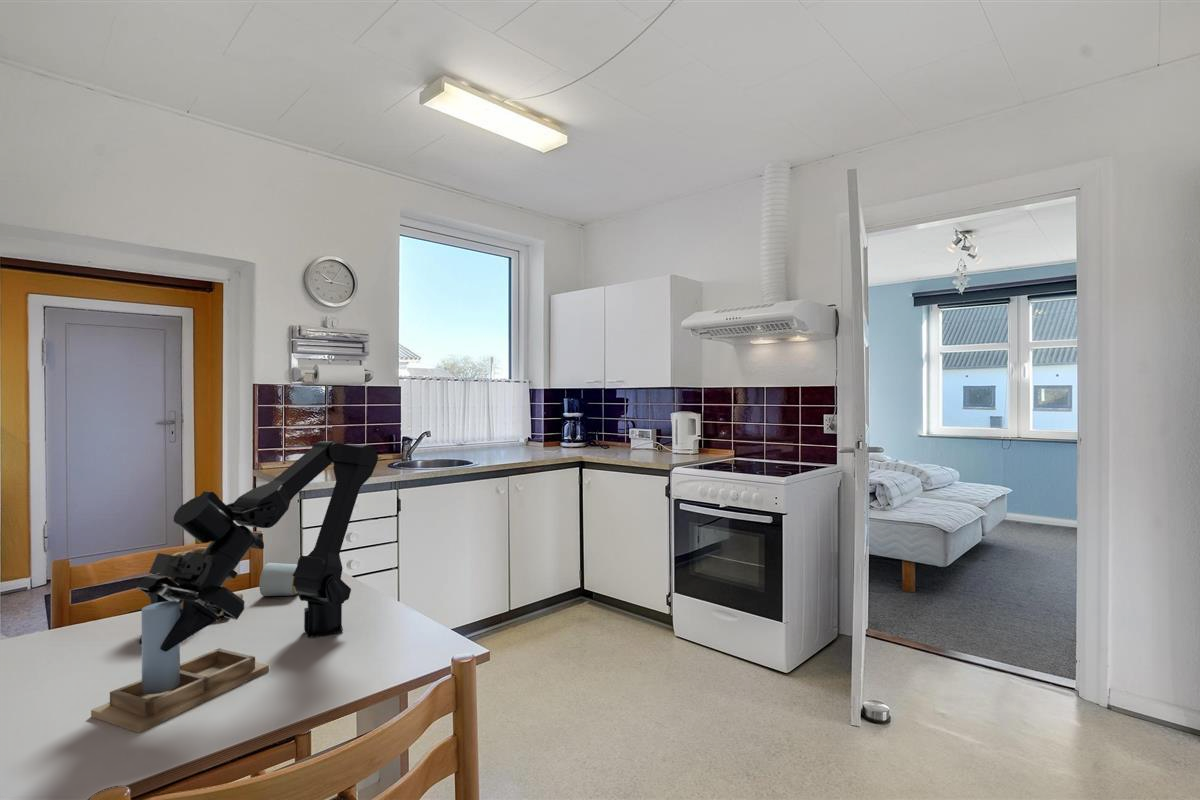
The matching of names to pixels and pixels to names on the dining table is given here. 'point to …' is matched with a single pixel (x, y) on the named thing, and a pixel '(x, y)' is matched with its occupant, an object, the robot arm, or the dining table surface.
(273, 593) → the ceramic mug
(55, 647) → the dining table surface
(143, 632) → the blue-grey round cylinder
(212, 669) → the wooden compartment tray
